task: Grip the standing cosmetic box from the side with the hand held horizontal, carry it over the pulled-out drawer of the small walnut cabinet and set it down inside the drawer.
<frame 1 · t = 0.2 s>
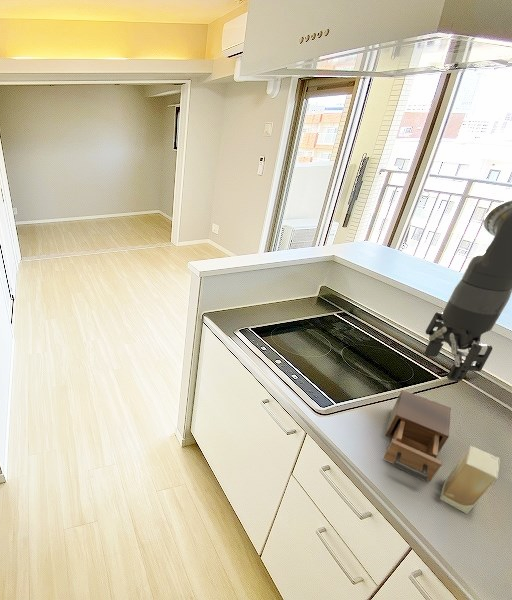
hand: (441, 366, 73), 22 cm above the counter, tool pointing down, fingers open, 8 cm apart
drawer: (412, 452, 75), point 4 cm above the counter, slide at 8.0 cm
cosmetic box: (454, 497, 70), on the counter
cabinet: (411, 432, 85), on the counter
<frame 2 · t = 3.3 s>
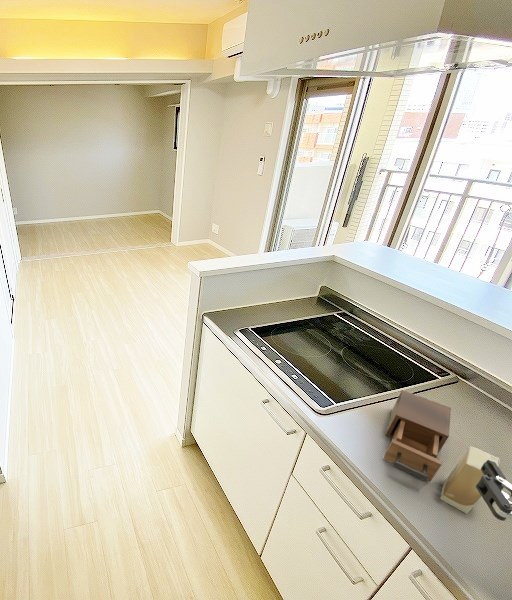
nothing on the counter moved.
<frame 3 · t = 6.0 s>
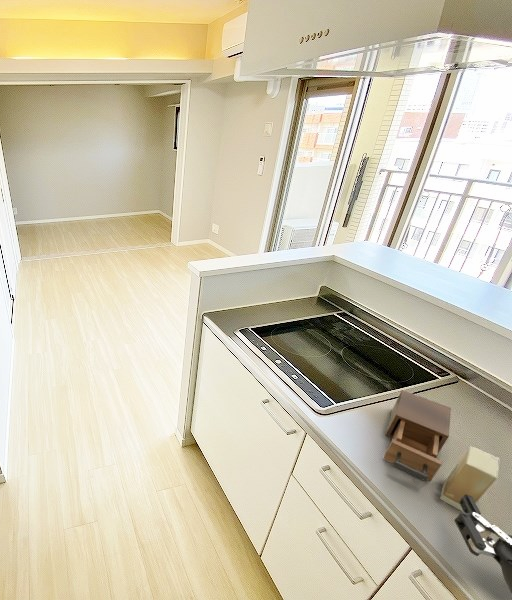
hand: (496, 506, 59), 9 cm above the counter, tool horizontal, fingers open, 8 cm apart
nothing on the counter moved.
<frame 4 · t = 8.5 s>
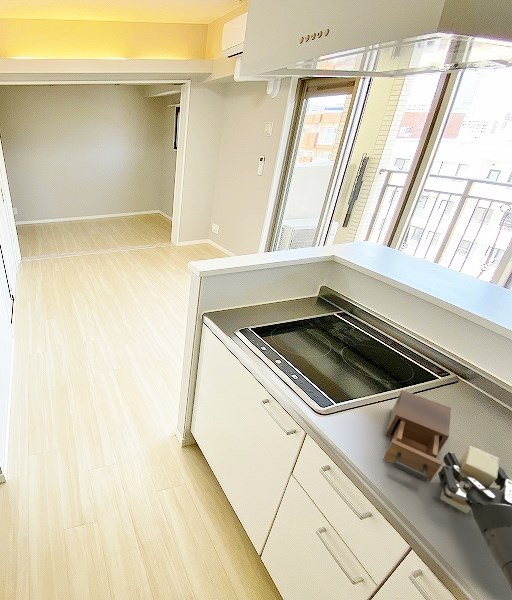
hand: (469, 460, 68), 9 cm above the counter, tool horizontal, fingers closed on cosmetic box, 6 cm apart
cosmetic box: (454, 497, 70), on the counter, touching gripper
everything else where it was.
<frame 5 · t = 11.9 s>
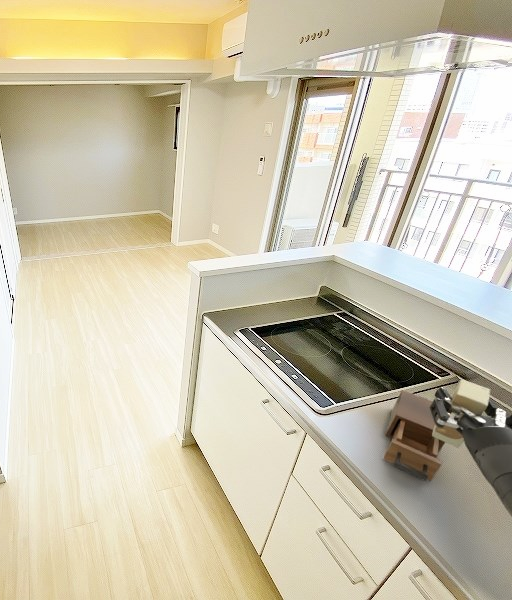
hand: (461, 395, 67), 21 cm above the counter, tool horizontal, fingers closed on cosmetic box, 6 cm apart
cosmetic box: (446, 435, 69), point 12 cm above the counter, touching gripper
everything else where it was.
when the fingers open (11 cm above the counter, at t = 15.7 s): cosmetic box stays where it is, resting on drawer.
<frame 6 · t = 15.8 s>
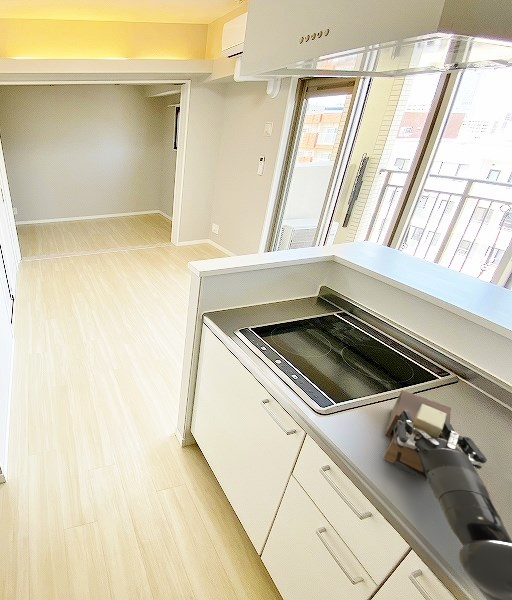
hand: (422, 417, 75), 11 cm above the counter, tool horizontal, fingers open, 6 cm apart
drawer: (412, 451, 75), point 4 cm above the counter, slide at 7.9 cm, touching cosmetic box
cosmetic box: (410, 452, 77), point 2 cm above the counter, touching drawer
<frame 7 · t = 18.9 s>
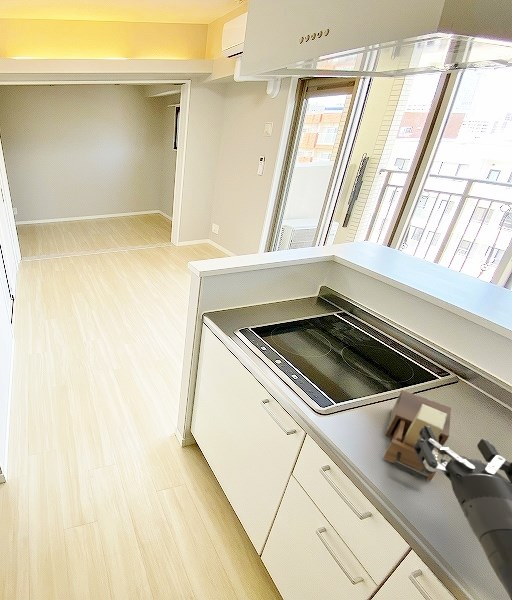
hand: (452, 435, 64), 17 cm above the counter, tool horizontal, fingers open, 8 cm apart
nothing on the counter moved.
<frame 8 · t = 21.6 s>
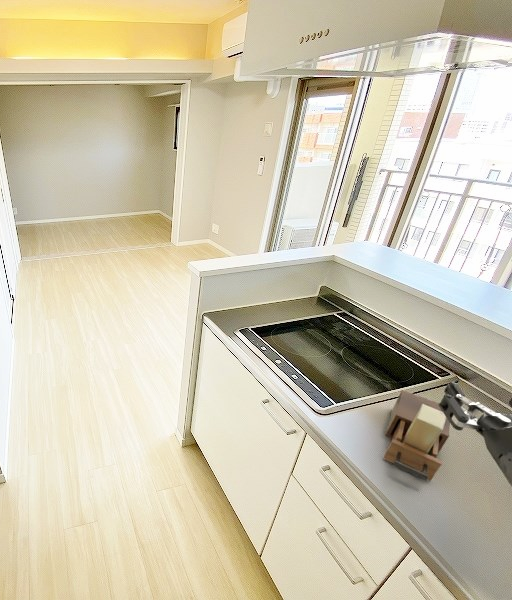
hand: (481, 392, 59), 28 cm above the counter, tool horizontal, fingers open, 8 cm apart
nothing on the counter moved.
at the end: cosmetic box inside the target area in the drawer (0.6 cm from its centre), point 1.8 cm above the cabinet's base; the gripper is holding nothing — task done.
